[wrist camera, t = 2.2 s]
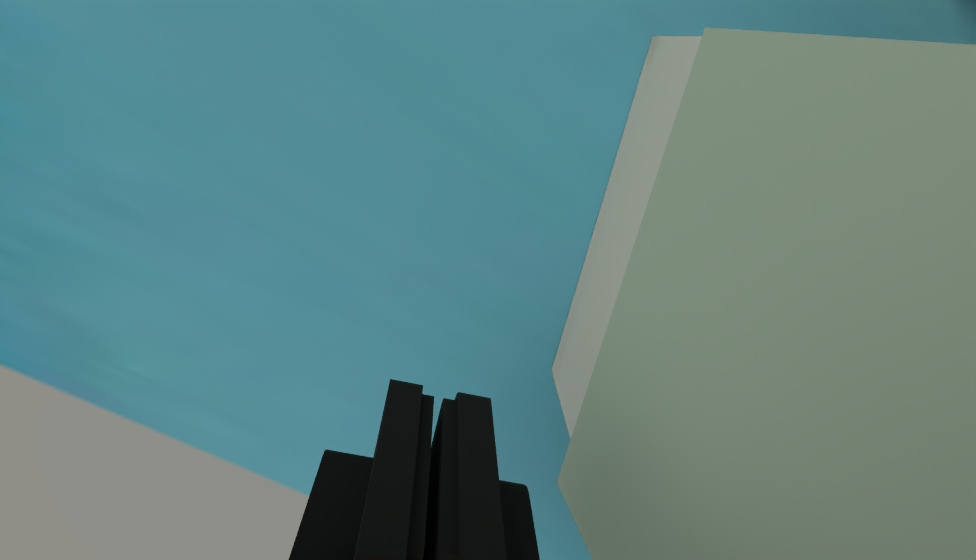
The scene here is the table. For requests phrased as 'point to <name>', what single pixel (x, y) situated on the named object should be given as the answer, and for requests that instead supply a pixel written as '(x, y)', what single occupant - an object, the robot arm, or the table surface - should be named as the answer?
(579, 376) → the block
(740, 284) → the lid
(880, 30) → the table surface
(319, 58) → the table surface
